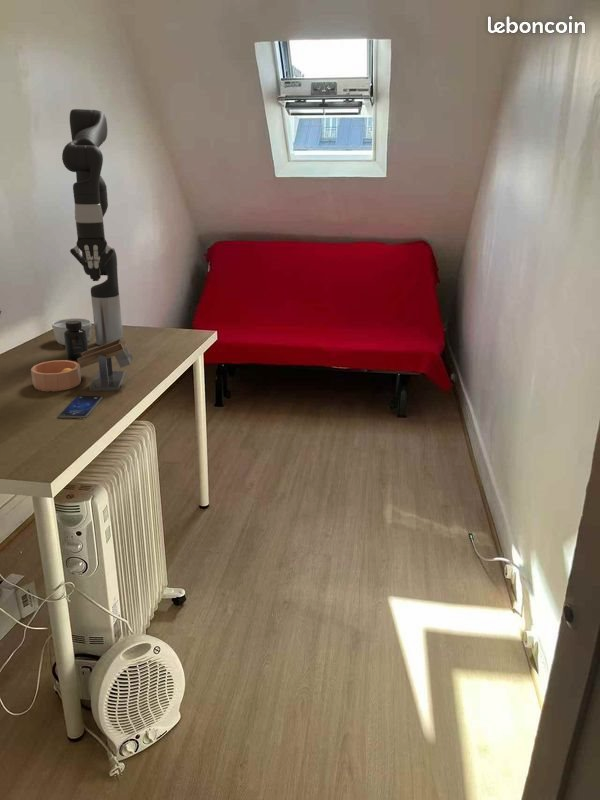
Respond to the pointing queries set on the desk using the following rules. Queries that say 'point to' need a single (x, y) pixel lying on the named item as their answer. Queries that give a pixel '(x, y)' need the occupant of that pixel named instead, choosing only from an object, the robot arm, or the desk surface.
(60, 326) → the white bowl
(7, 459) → the desk surface
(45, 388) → the pink round bowl
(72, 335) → the supplement bottle
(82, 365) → the chute
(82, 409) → the smartphone
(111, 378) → the chute stand
